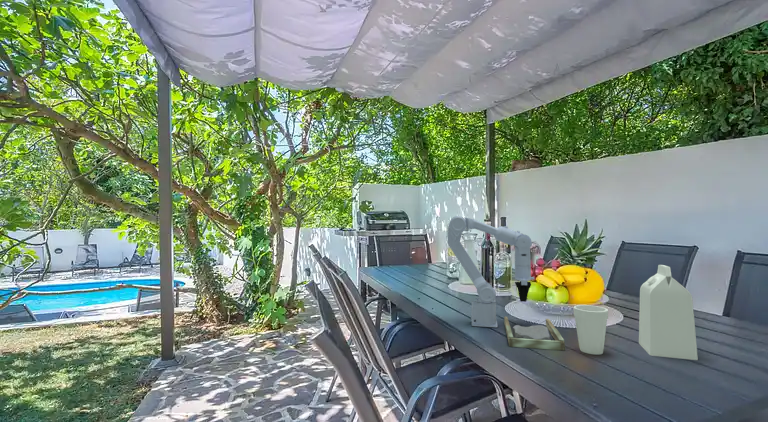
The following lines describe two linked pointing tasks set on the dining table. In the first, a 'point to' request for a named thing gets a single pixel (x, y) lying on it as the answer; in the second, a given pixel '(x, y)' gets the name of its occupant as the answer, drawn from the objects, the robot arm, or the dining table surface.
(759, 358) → the dining table surface
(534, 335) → the stone block
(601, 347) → the foam cup
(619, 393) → the dining table surface
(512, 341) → the channel
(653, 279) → the milk
